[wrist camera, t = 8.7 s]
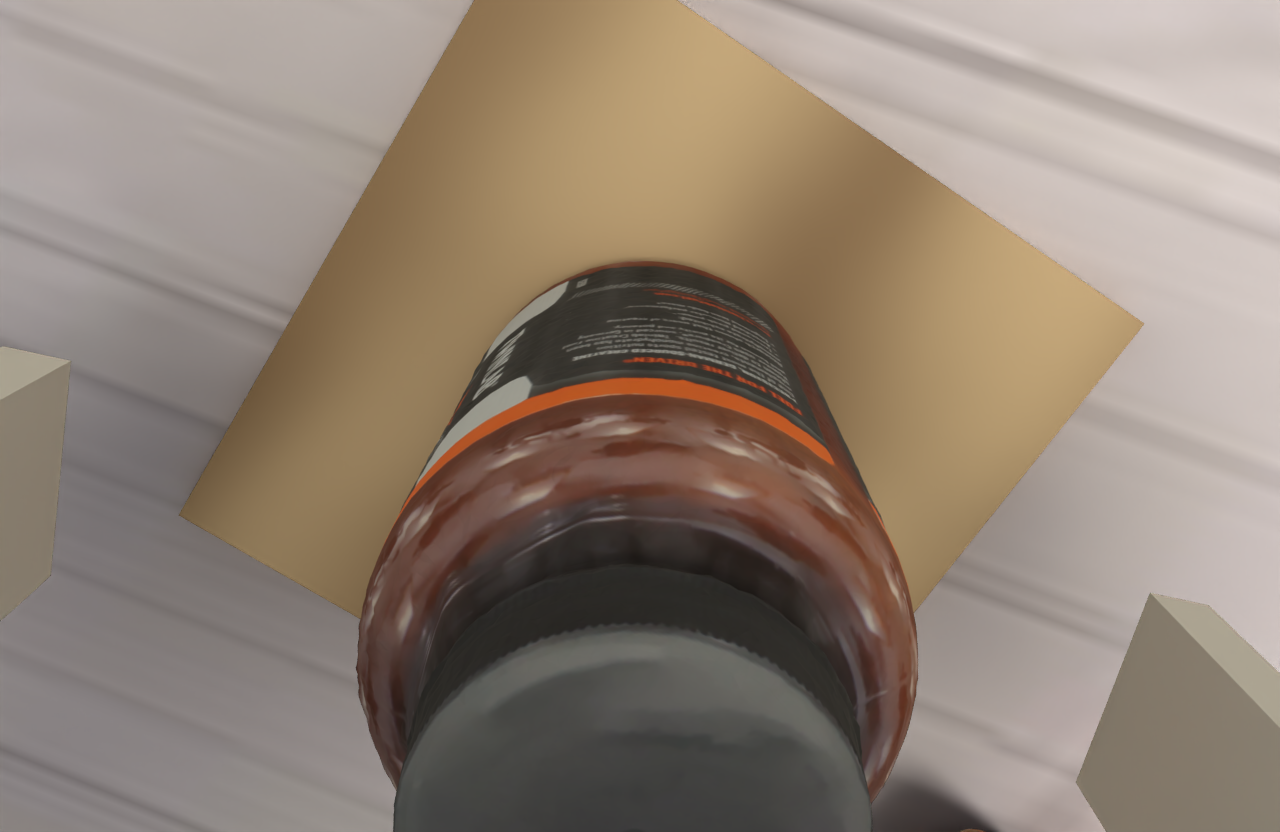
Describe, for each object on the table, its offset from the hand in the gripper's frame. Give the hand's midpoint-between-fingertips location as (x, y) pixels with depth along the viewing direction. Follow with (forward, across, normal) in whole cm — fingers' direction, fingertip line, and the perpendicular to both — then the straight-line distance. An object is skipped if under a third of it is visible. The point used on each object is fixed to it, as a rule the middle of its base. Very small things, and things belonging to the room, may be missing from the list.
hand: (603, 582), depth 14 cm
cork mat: (+7, +1, 0) cm, 7 cm away
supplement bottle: (+7, +1, 0) cm, 7 cm away
